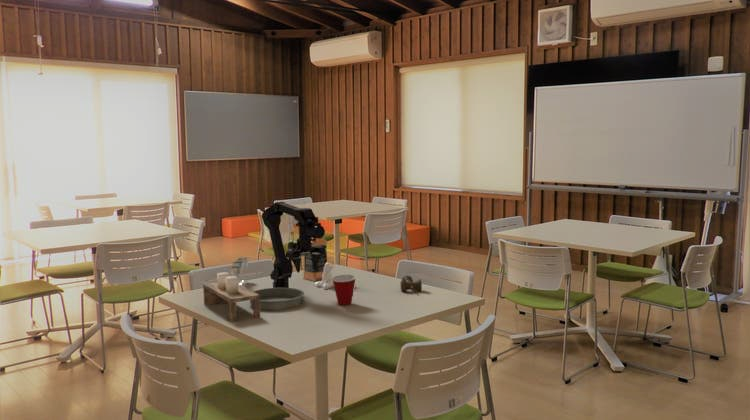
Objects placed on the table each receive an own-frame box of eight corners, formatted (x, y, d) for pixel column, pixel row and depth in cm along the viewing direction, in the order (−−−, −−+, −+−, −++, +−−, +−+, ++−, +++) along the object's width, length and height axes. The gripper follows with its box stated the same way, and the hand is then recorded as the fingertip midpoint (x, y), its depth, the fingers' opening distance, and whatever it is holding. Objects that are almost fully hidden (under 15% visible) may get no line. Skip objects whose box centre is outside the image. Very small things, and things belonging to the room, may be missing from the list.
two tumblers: (227, 285, 271) (226, 271, 271) (240, 292, 259) (239, 277, 258) (216, 287, 269) (215, 273, 268) (228, 293, 256) (228, 279, 255)
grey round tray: (260, 314, 259) (259, 303, 259) (239, 302, 280) (238, 292, 280) (313, 305, 272) (313, 295, 272) (290, 294, 293) (289, 284, 293)
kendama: (416, 285, 309) (423, 294, 290) (397, 287, 309) (402, 295, 289) (416, 273, 309) (423, 281, 289) (396, 274, 308) (402, 282, 288)
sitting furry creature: (313, 286, 308) (313, 262, 307) (328, 283, 313) (328, 260, 312) (324, 289, 301) (323, 265, 299) (339, 287, 306) (338, 262, 305)
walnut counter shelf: (230, 300, 282) (229, 280, 281) (260, 316, 255) (259, 294, 254) (204, 304, 276) (203, 284, 275) (231, 321, 248) (230, 299, 247)
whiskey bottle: (302, 278, 327) (300, 217, 324) (317, 275, 334) (316, 215, 330) (314, 281, 319) (313, 218, 316) (329, 278, 326) (328, 216, 323)
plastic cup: (326, 304, 273) (326, 277, 272) (344, 299, 281) (343, 273, 280) (344, 308, 266) (343, 280, 264) (361, 303, 274) (361, 276, 272)
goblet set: (242, 293, 296) (241, 265, 295) (229, 293, 296) (228, 265, 295) (249, 280, 324) (248, 254, 323) (238, 280, 324) (237, 255, 322)
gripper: (309, 233, 295) (310, 265, 296) (277, 237, 281) (278, 272, 283) (325, 234, 287) (326, 268, 288) (293, 239, 274) (294, 275, 275)
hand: (306, 271), depth 284 cm, fingers open, 9 cm apart
